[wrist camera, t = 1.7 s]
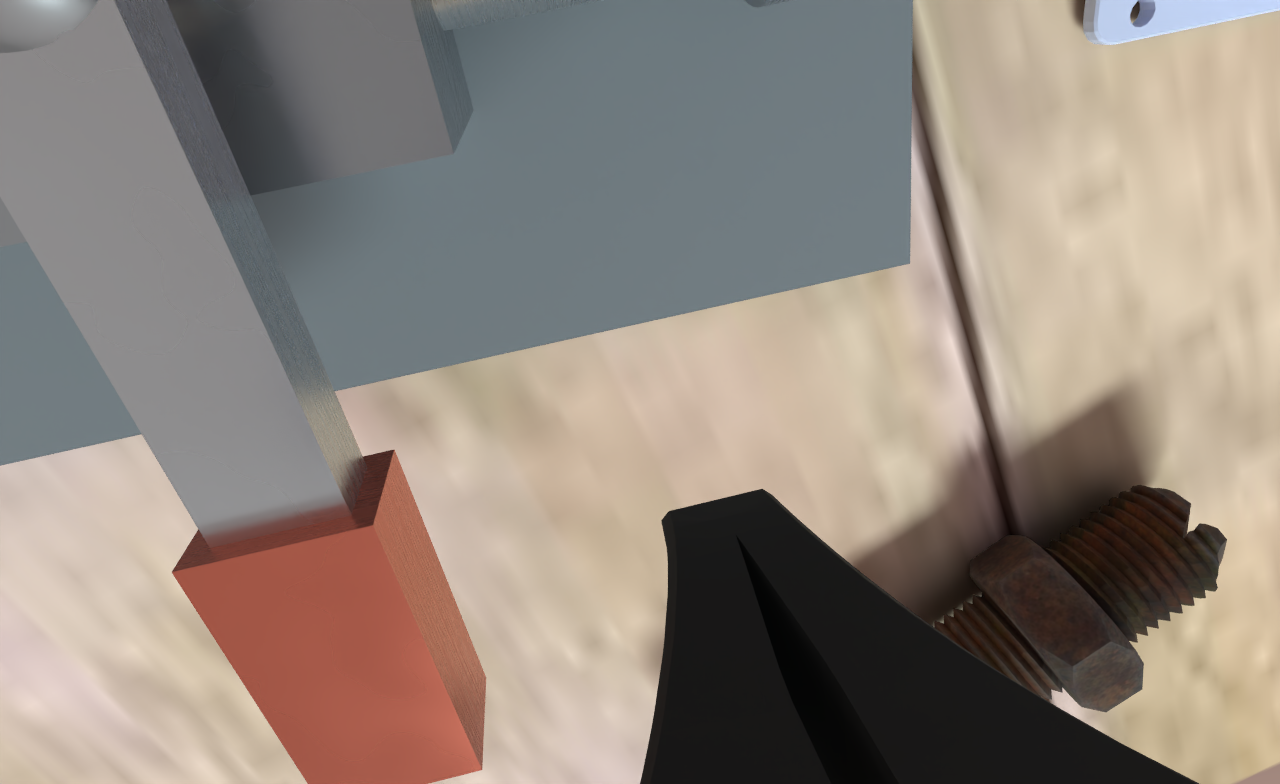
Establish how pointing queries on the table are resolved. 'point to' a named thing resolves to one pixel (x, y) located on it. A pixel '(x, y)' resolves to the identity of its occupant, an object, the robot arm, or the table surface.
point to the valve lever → (233, 398)
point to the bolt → (1087, 597)
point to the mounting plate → (560, 200)
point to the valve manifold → (333, 82)
